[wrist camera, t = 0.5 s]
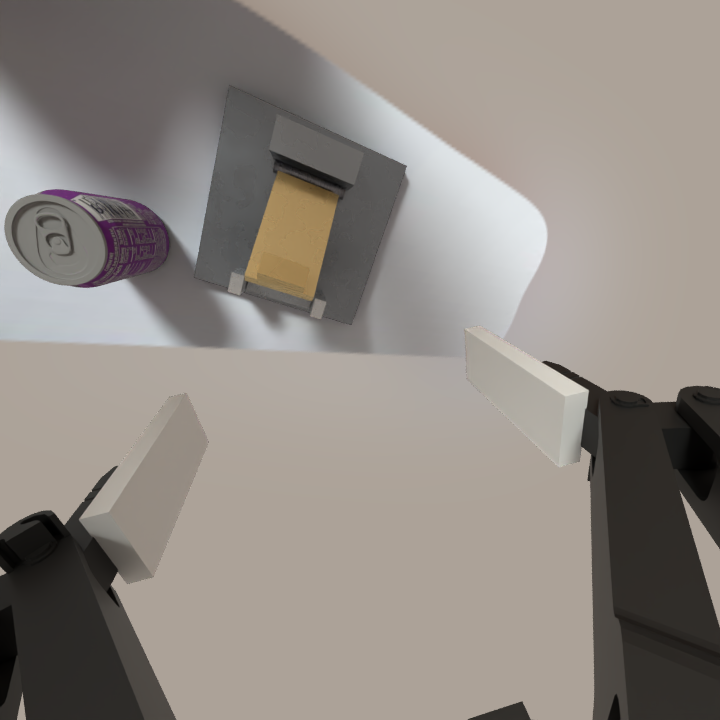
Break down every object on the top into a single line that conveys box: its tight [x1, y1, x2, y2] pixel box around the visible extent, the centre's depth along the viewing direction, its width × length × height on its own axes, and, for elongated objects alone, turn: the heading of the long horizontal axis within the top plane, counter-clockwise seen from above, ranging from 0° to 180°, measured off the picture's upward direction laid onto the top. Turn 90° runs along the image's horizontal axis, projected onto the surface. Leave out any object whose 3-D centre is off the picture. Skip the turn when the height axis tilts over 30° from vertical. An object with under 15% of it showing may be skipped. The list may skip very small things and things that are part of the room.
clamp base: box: [194, 85, 407, 325], centre depth 34 cm, size 18×18×6 cm
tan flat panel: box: [245, 159, 346, 301], centre depth 30 cm, size 7×13×2 cm
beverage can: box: [5, 189, 169, 288], centre depth 29 cm, size 7×7×12 cm
